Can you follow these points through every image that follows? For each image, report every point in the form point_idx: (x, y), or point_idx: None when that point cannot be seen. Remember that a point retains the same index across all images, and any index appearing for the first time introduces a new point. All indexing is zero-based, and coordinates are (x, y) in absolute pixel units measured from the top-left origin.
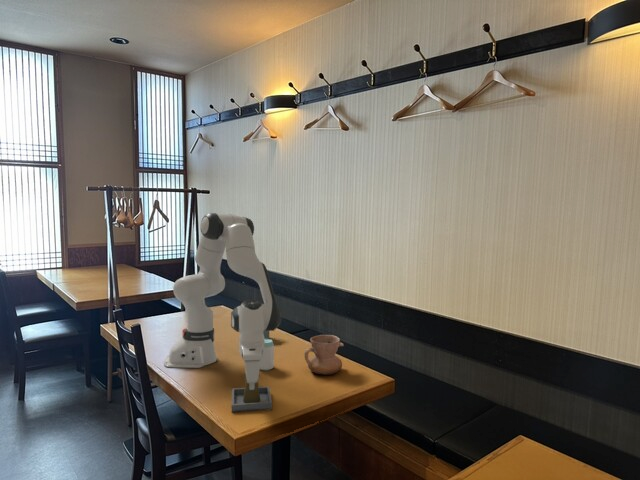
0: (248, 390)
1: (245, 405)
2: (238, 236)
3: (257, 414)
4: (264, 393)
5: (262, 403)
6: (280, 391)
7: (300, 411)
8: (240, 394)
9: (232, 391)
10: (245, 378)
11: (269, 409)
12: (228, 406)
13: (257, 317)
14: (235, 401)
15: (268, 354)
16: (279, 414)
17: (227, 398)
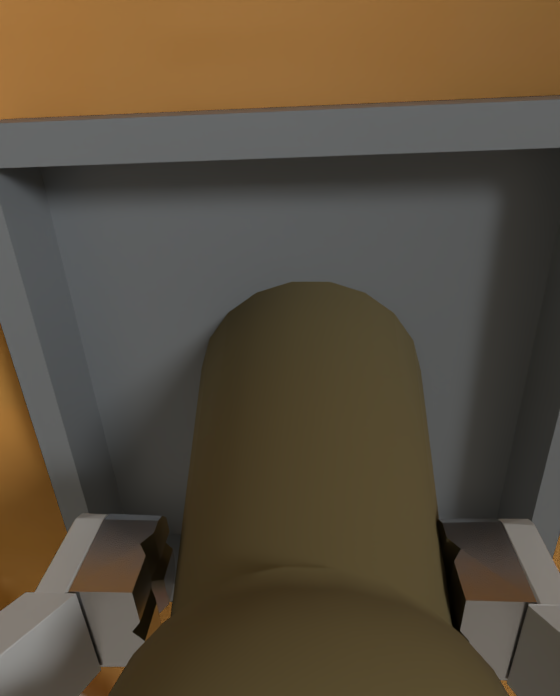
0: (198, 455)
1: (14, 335)
2: None
3: (5, 419)
4: (471, 515)
5: (67, 521)
6: None
7: (99, 688)
8: (537, 240)
9: (532, 112)
10: (201, 619)
11: None
12: (199, 54)
13: None
14: (302, 169)
15: None
16: (33, 576)
17: (504, 12)
